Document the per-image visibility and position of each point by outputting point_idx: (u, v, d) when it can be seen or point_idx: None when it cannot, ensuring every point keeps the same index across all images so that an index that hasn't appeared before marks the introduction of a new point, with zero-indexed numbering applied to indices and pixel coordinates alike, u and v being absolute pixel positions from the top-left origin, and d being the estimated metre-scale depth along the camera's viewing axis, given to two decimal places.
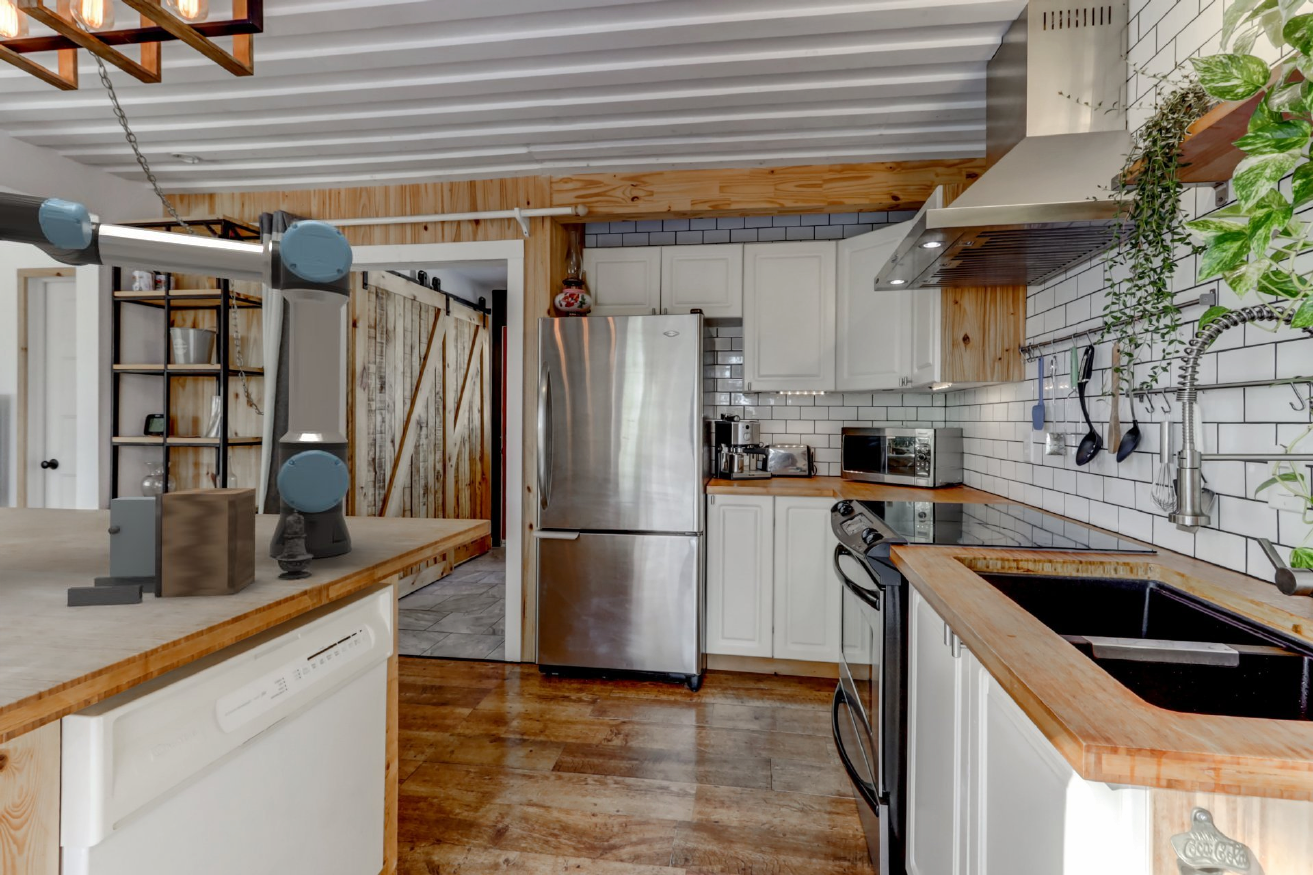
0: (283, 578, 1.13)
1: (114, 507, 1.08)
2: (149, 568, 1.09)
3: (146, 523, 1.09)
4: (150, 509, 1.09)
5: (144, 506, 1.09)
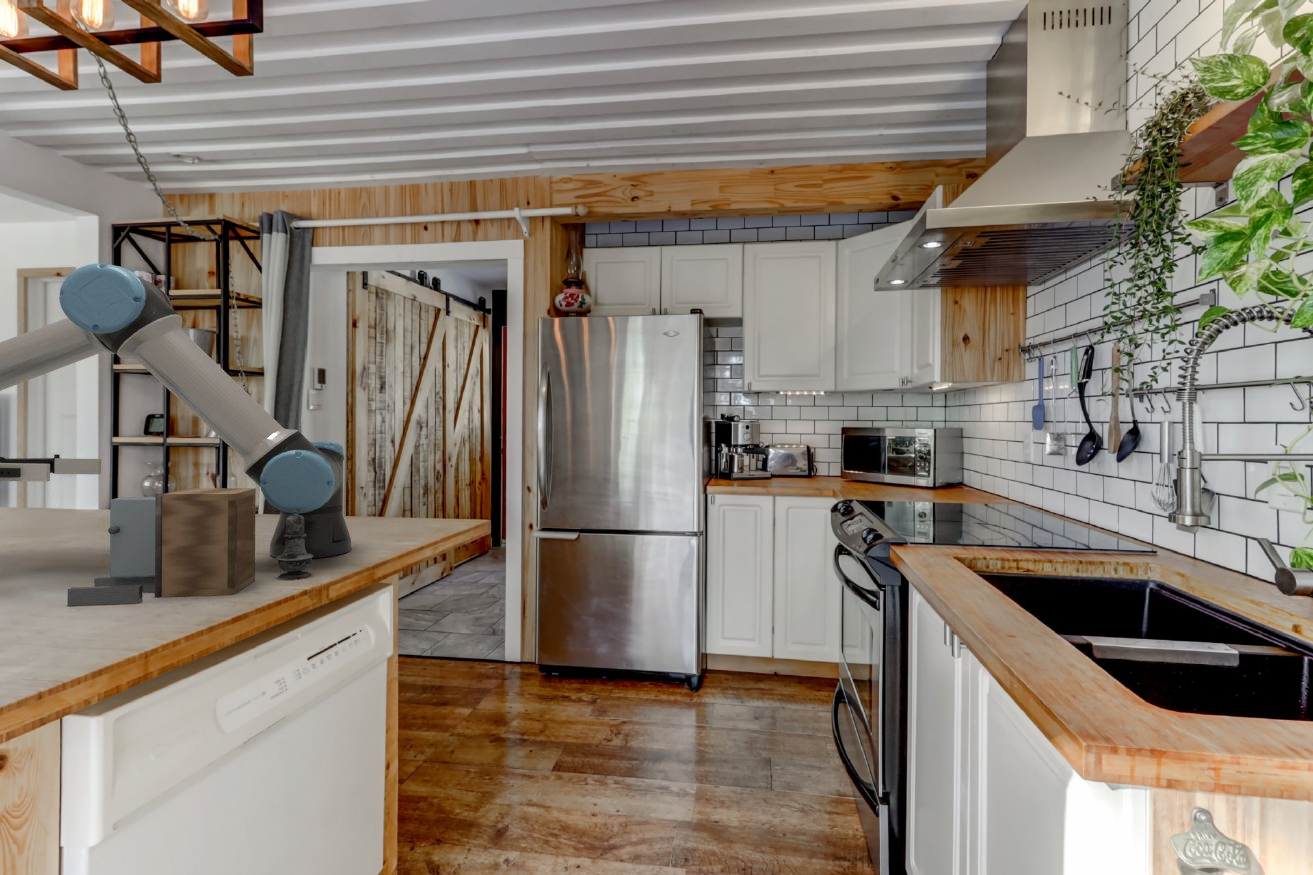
0: (283, 578, 1.13)
1: (114, 507, 1.08)
2: (149, 568, 1.09)
3: (145, 523, 1.09)
4: (150, 509, 1.09)
5: (144, 506, 1.09)
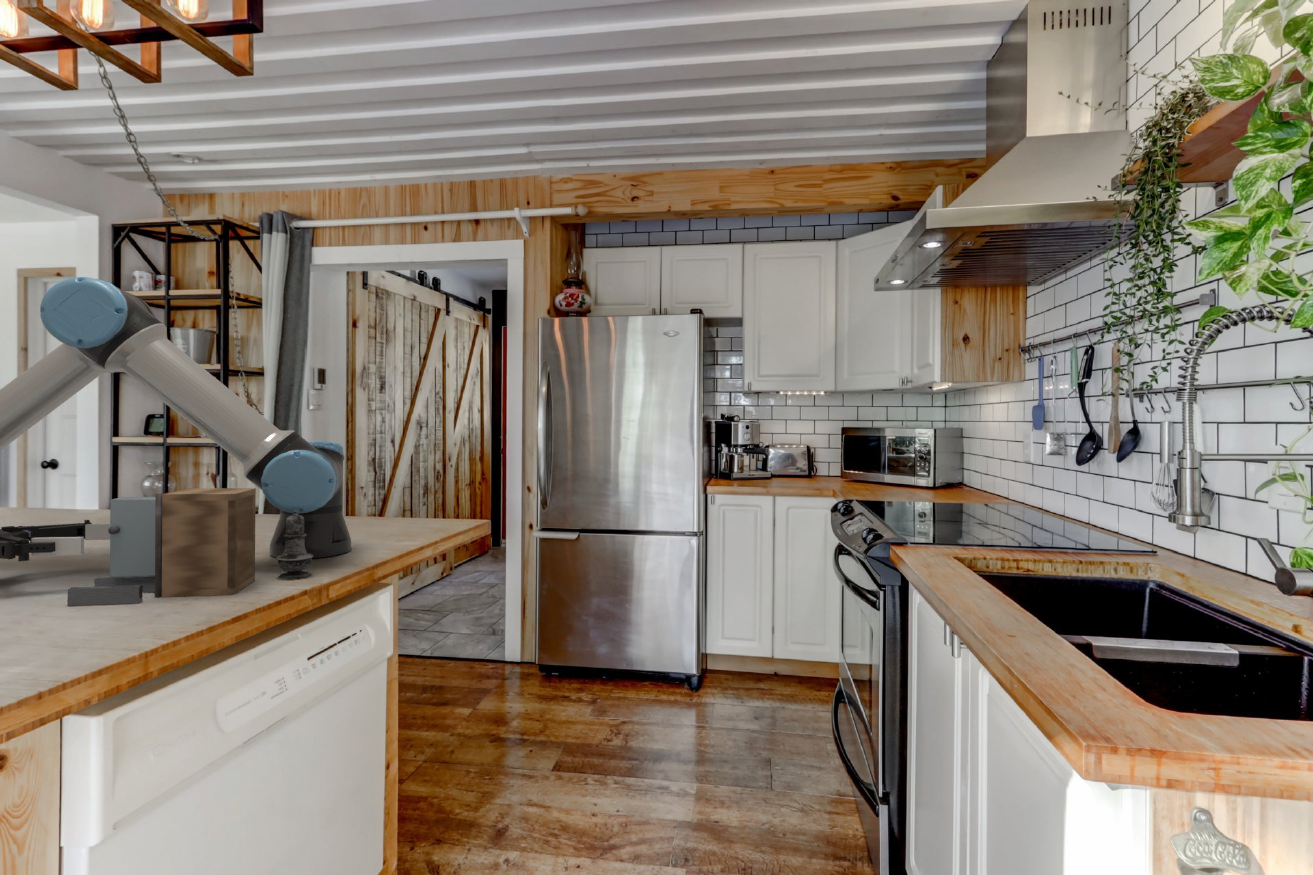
0: (283, 578, 1.13)
1: (114, 507, 1.08)
2: (149, 568, 1.09)
3: (145, 523, 1.09)
4: (150, 509, 1.09)
5: (144, 506, 1.09)
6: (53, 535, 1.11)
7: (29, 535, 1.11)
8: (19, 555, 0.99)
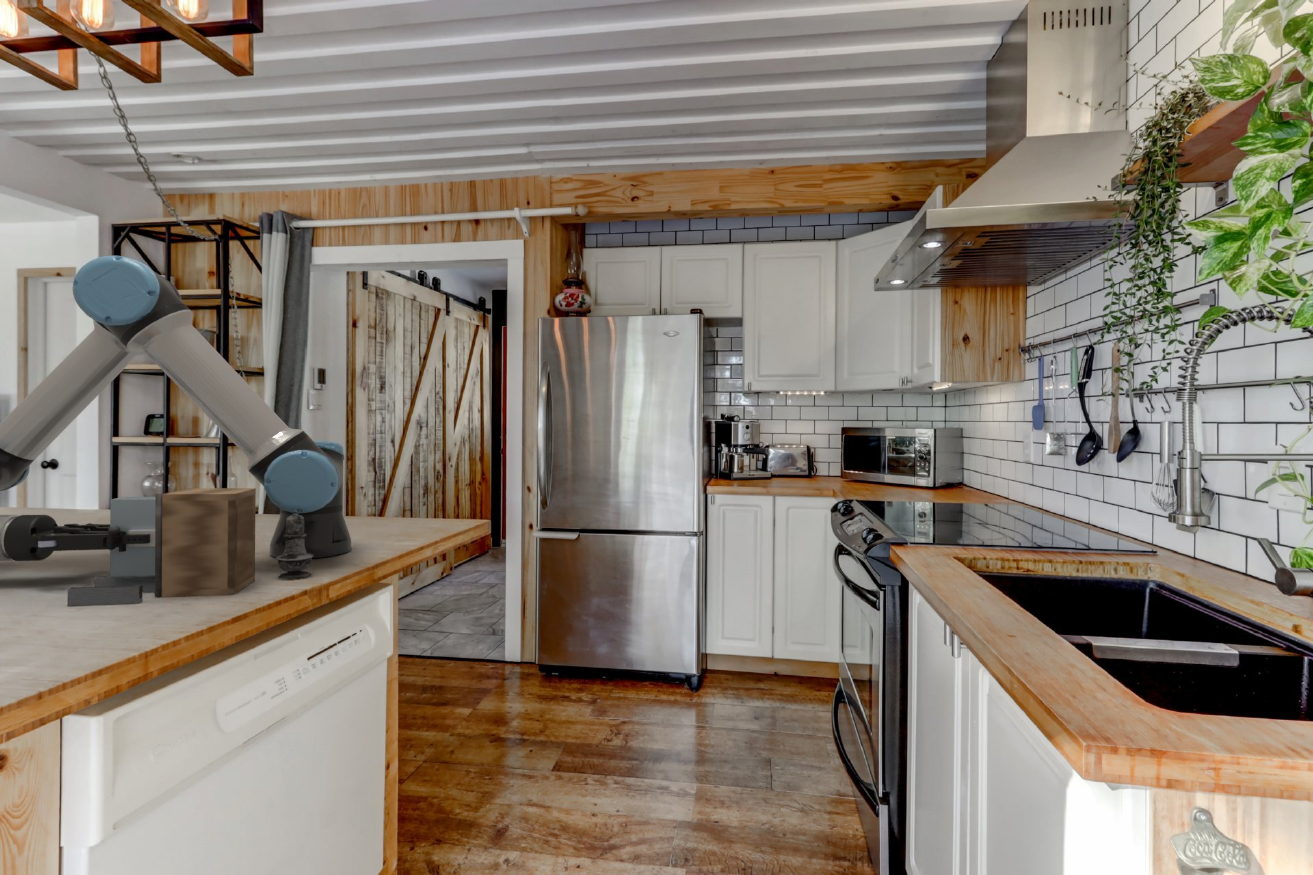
0: (283, 578, 1.13)
1: (114, 507, 1.08)
2: (149, 568, 1.09)
3: (146, 523, 1.09)
4: (150, 509, 1.09)
5: (144, 506, 1.09)
6: None
7: None
8: (120, 546, 1.06)
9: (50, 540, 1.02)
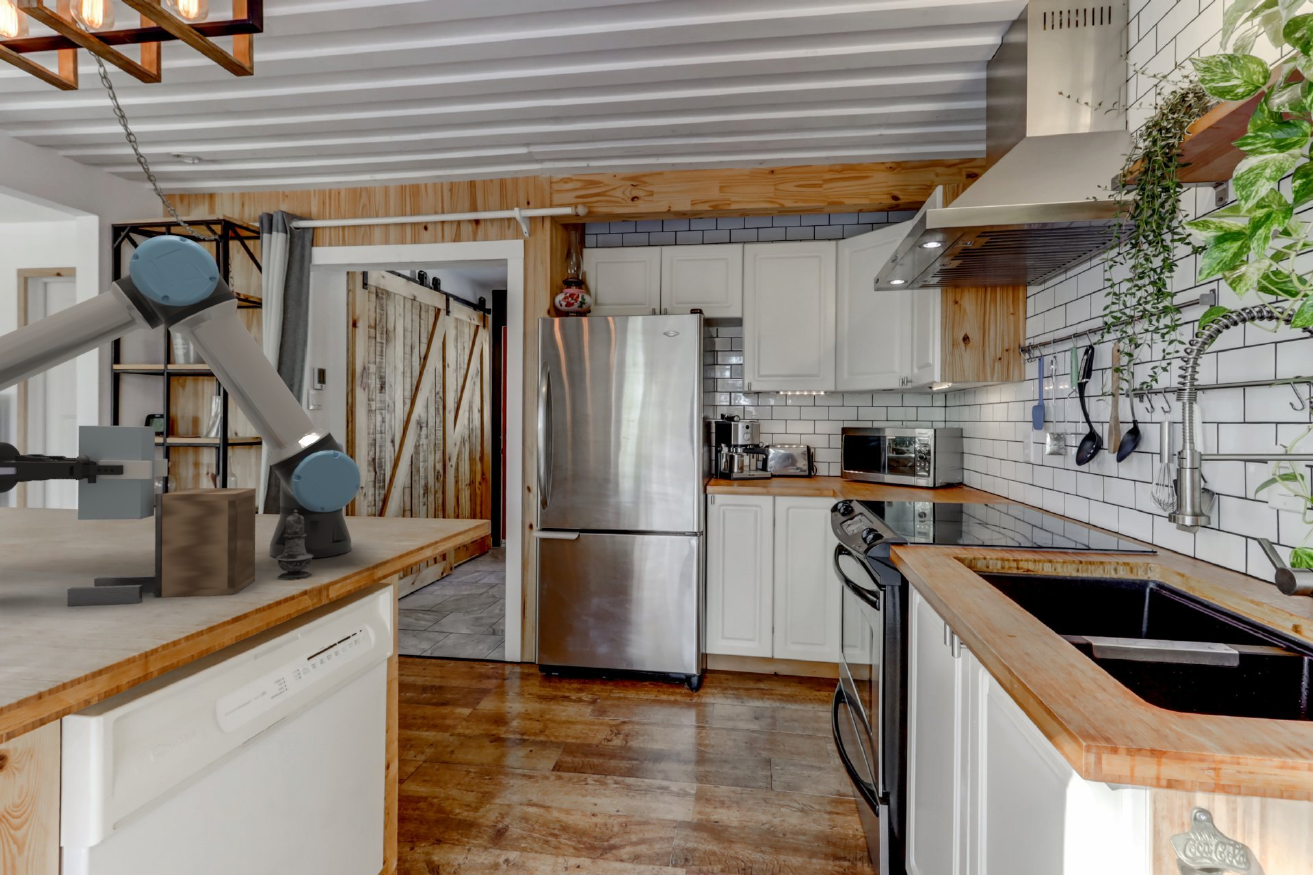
0: (283, 578, 1.13)
1: (83, 434, 0.96)
2: (122, 504, 0.98)
3: (118, 453, 0.97)
4: (124, 437, 0.97)
5: (116, 434, 0.97)
6: None
7: None
8: (89, 477, 0.95)
9: (9, 467, 0.91)
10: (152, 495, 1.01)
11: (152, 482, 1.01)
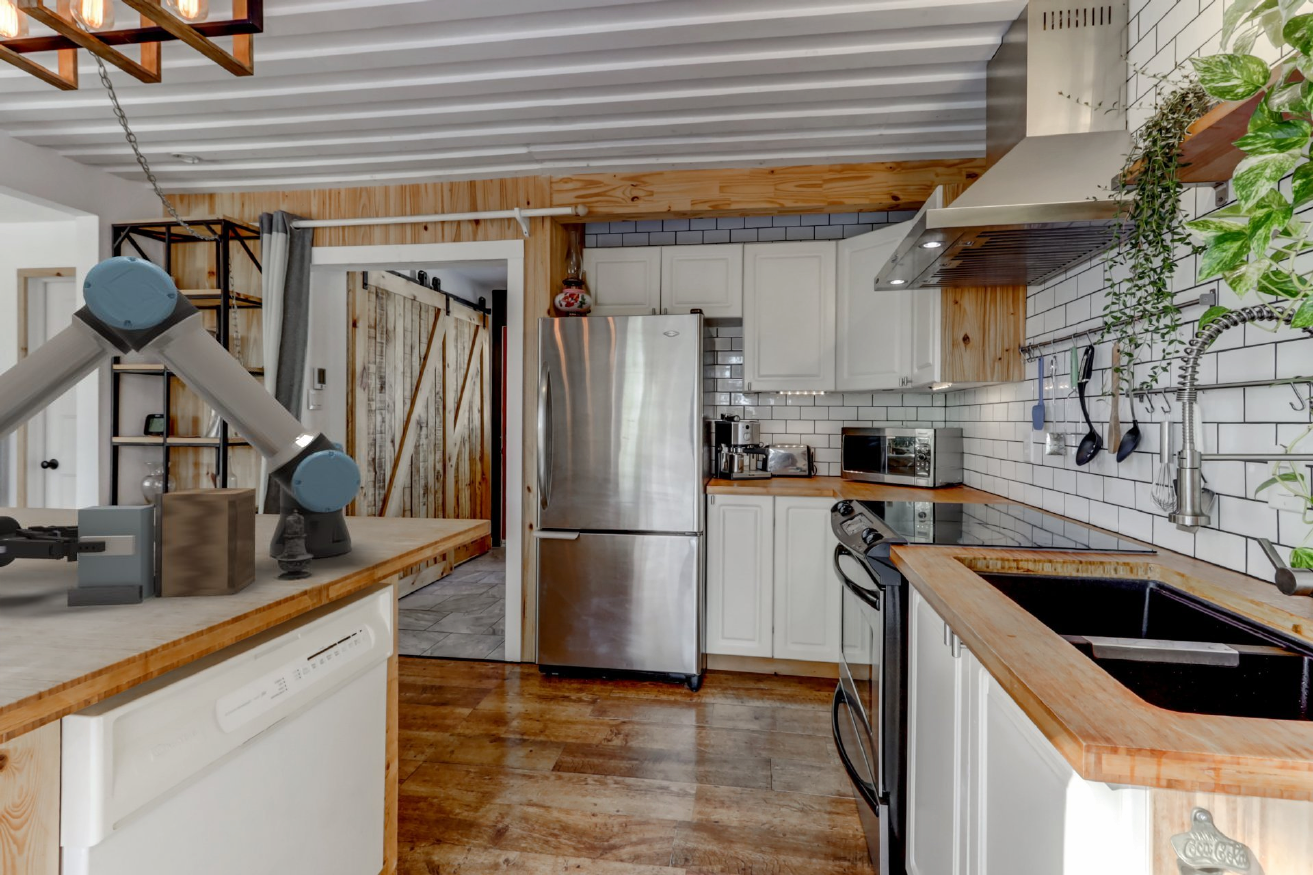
0: (283, 578, 1.13)
1: (83, 518, 0.96)
2: None
3: None
4: (123, 520, 0.98)
5: (116, 517, 0.97)
6: None
7: (59, 536, 1.02)
8: (68, 555, 0.92)
9: None
10: (152, 574, 1.02)
11: (152, 561, 1.02)
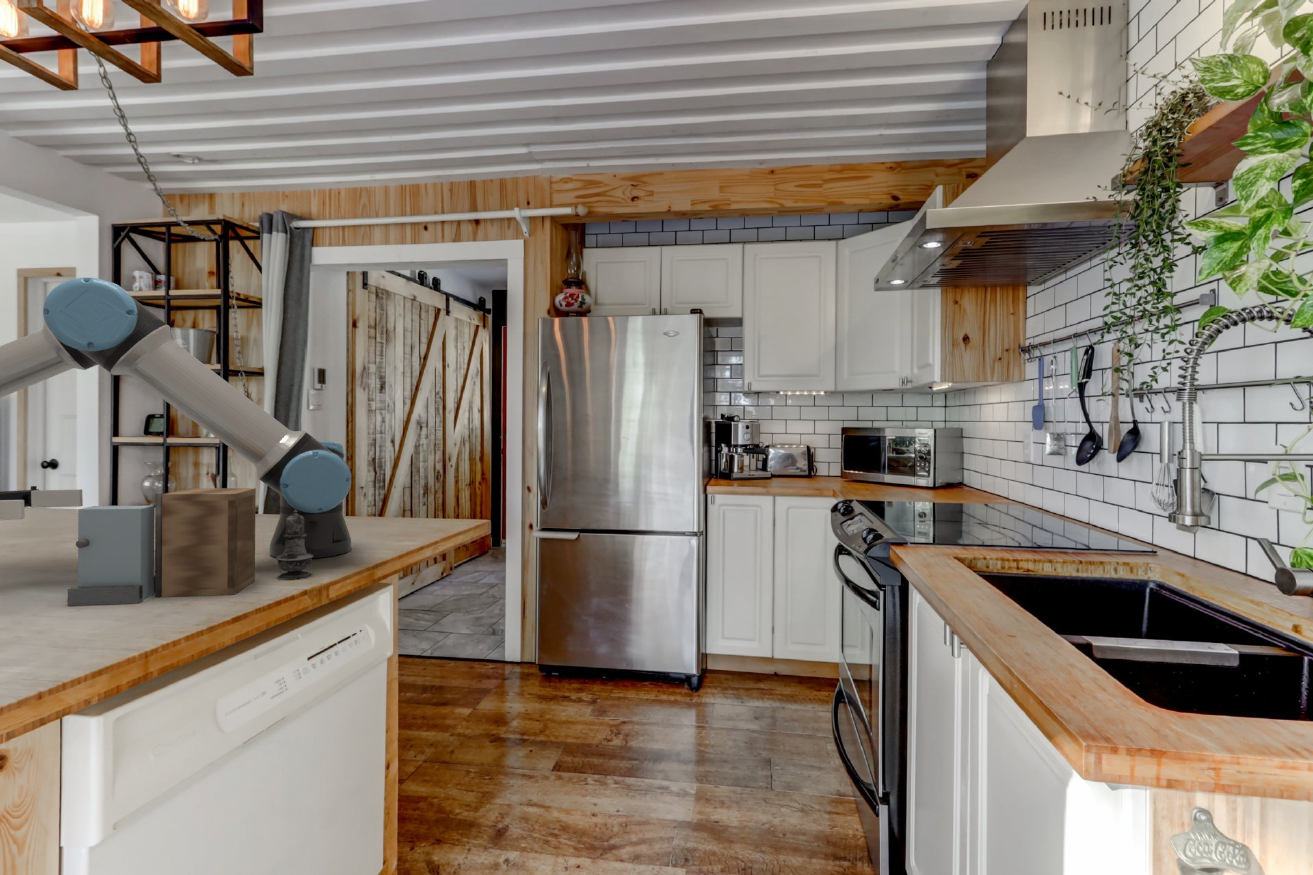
0: (283, 578, 1.13)
1: (83, 518, 0.96)
2: None
3: (118, 536, 0.97)
4: (123, 520, 0.98)
5: (116, 517, 0.97)
6: None
7: None
8: None
9: None
10: (152, 574, 1.02)
11: (152, 561, 1.02)
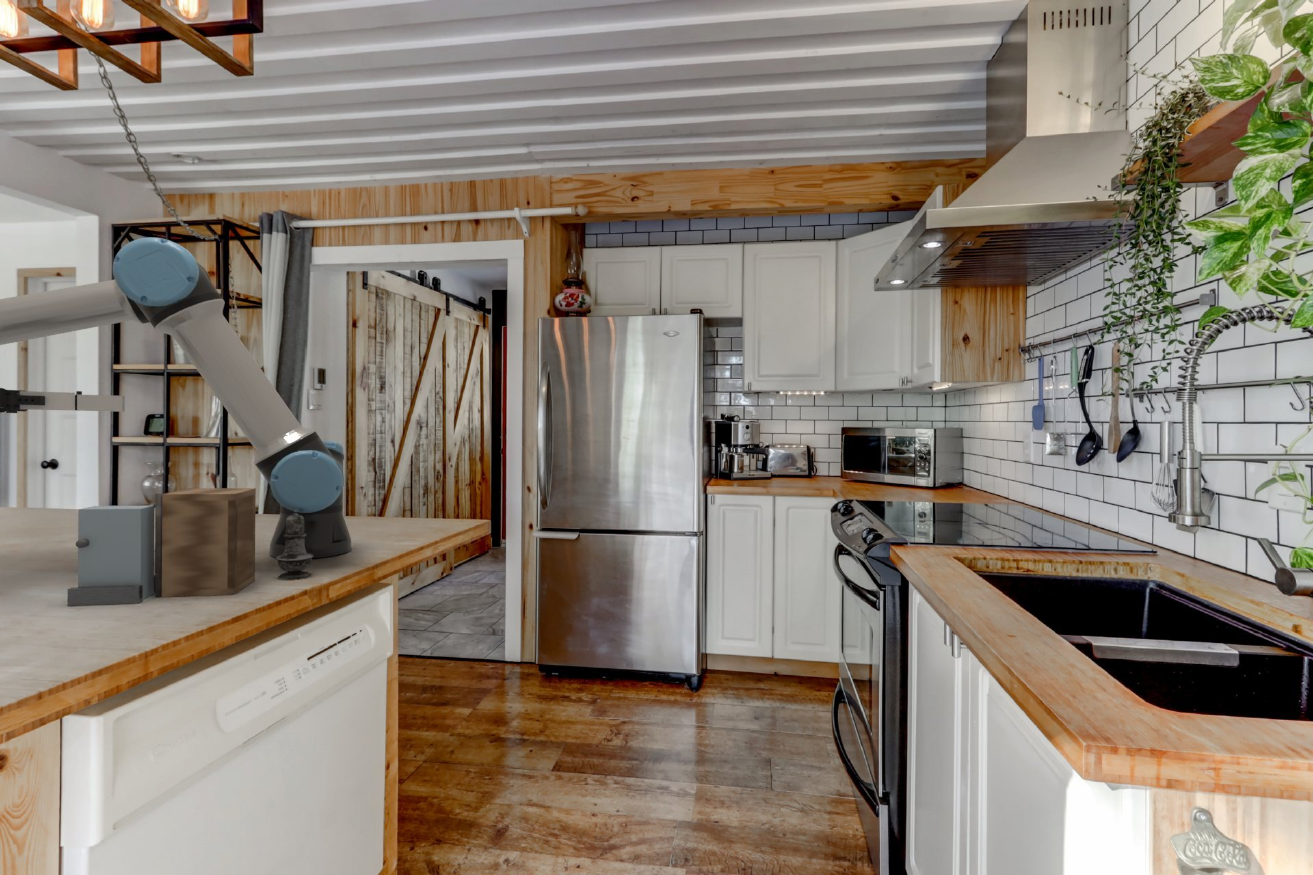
0: (283, 578, 1.13)
1: (83, 518, 0.96)
2: None
3: (118, 536, 0.97)
4: (123, 520, 0.98)
5: (116, 517, 0.97)
6: None
7: None
8: (7, 406, 0.95)
9: None
10: (152, 574, 1.02)
11: (152, 561, 1.02)
